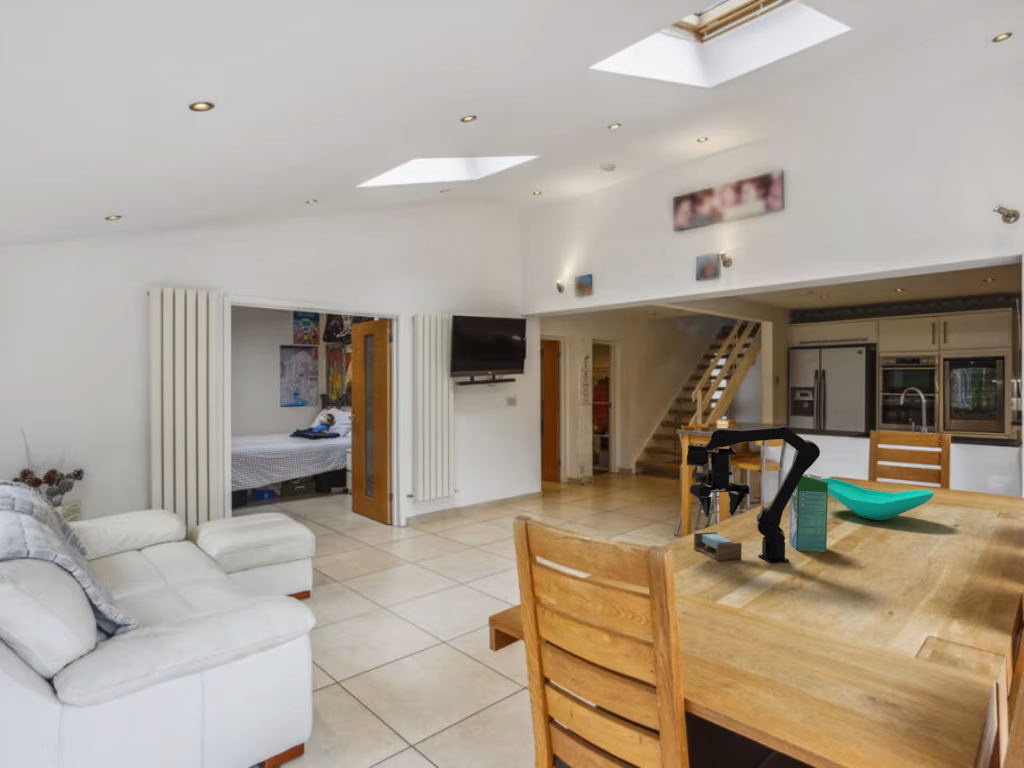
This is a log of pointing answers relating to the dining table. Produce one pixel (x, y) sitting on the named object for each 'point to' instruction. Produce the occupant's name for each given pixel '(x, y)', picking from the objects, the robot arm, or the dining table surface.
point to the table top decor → (875, 500)
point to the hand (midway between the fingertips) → (719, 516)
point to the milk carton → (809, 514)
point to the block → (714, 540)
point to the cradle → (718, 549)
